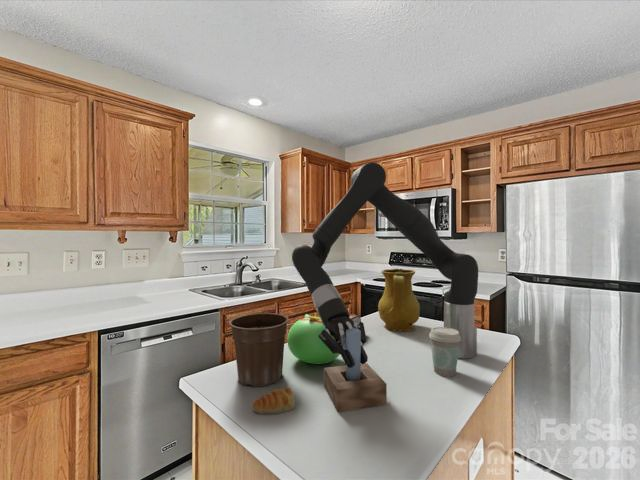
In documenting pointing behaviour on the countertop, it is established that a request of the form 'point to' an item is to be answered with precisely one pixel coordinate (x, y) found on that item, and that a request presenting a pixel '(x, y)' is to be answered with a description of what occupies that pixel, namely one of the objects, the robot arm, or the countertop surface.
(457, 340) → the coffee cup
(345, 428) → the countertop surface
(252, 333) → the plant pot
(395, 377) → the countertop surface
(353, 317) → the tin
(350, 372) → the dowel
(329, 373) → the socket block
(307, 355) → the green round piece
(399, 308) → the pitcher
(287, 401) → the pastry
